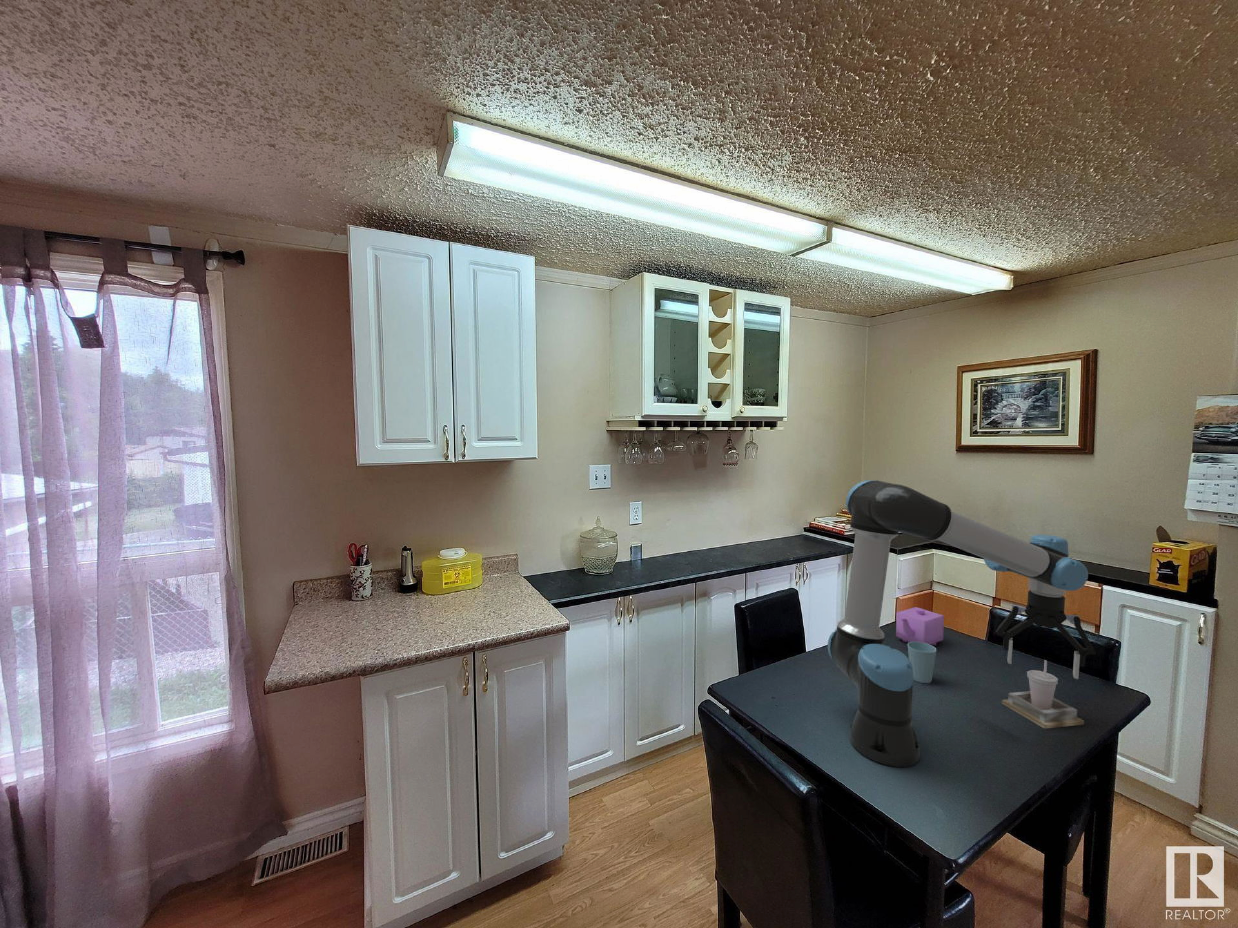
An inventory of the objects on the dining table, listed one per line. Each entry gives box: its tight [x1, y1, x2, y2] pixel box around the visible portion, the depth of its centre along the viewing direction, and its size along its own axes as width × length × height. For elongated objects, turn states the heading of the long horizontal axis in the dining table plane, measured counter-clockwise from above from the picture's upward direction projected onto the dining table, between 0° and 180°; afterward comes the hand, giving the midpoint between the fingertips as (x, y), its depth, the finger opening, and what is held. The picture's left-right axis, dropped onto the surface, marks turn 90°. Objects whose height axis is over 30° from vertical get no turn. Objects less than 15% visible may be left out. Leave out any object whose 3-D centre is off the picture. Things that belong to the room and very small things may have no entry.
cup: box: [907, 642, 937, 684], centre depth 151 cm, size 8×8×10 cm
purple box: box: [895, 606, 945, 646], centre depth 176 cm, size 20×10×12 cm, turn 117°
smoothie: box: [1026, 659, 1059, 710], centre depth 131 cm, size 6×6×14 cm
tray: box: [1001, 690, 1085, 729], centre depth 132 cm, size 12×12×4 cm
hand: (1041, 669), depth 131 cm, fingers open, 13 cm apart
